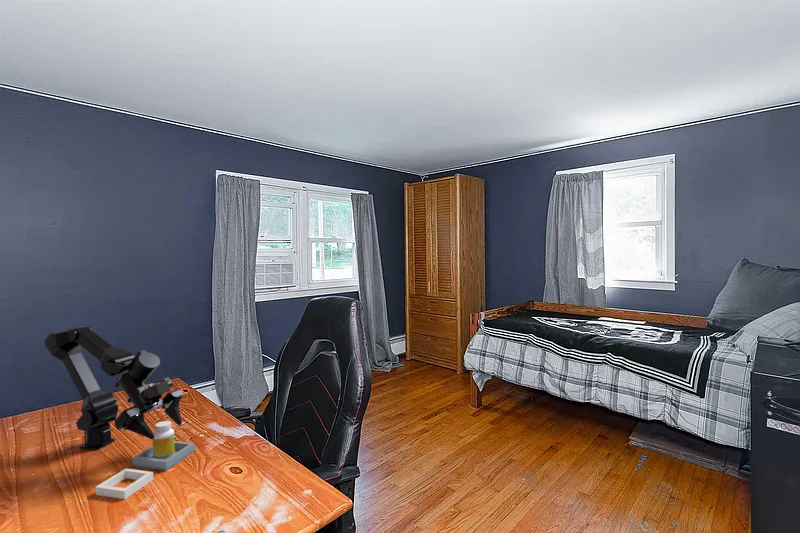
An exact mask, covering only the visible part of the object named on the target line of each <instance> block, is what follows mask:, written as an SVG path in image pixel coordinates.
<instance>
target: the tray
mask: <svg viewBox="0 0 800 533" xmlns="http://www.w3.org/2000/svg"><path fill="white" fill-rule="evenodd" d="M195 447H196V446H195V443H194V442H188V441H178V440H175V454H174V455H172V456H171V457H169V458H168V459H166V460H163V459H155V458H153V445H151V446H149V447H148V448H147V449H145V450H142V451H141V452H139V453H138V454H136V455H134V456H133V457H131V458H132V459H131V460H132V464H131V465H132V467H134V468H141V469H148V470H154V471H155V470H156V471H163V472H167V471H168V470H170V469H171V468H173V467H174V466H176V465H177V464H178V463H180V462H181V461H183V460H184V459H185V458H187V457H189V456H191V454H193V453H194V452H195V450H196V448H195Z"/></svg>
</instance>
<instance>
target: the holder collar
mask: <svg viewBox="0 0 800 533" xmlns="http://www.w3.org/2000/svg"><path fill="white" fill-rule="evenodd" d="M126 479H131V480H135V481H134V482H132V483H130V484H129V485H127V486H126V487H117V486H116V485H118V484H119V483H121V482H122V481H124V480H126ZM153 480H154V472H153V471H147V470H139V469H133V468H123V470H121V471H119V472H118V473H116V474H115V475H113V476H111V477H110V478H108V479H106V480H104V481H103V482H101V483H100V484H98V485H96V486H95V495H96V496H100V497H101V496H102V497H108V498H114V499H115V498H116V499H121V500H126V499H127V498H129V497H131V496H132V495H133V494H135V493H136V492H138V491H139V490H140V489H142V488H143V487H145V486H146V485H148V484H149V483H150V482H152V481H153Z"/></svg>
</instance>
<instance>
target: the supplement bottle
mask: <svg viewBox="0 0 800 533" xmlns="http://www.w3.org/2000/svg"><path fill="white" fill-rule="evenodd" d="M154 426H155V428H154V430H155V431H154V432H153V434H154V436H155V437H154V438H153V439H152V446H153V458H155V459H163V460H166V459H168V458H169V457H171V456H172V455H174V454H175V441H176V440H175V429H174V428H172V422H171V421H170V420H164V421H159V422H157V423H155V425H154Z"/></svg>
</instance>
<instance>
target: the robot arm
mask: <svg viewBox="0 0 800 533" xmlns="http://www.w3.org/2000/svg"><path fill="white" fill-rule="evenodd" d="M44 346H45V348H46V349H47V350H48V351H49V352H50V353H49V354H51V356H53V357H54V358H56V359H58V360H61V361H62V362H63V364H64V365H63V366H65V368H66V370H67V372H68V374H69V376H70V377H71V380H72V381H73V384H74V385H75V387H76V389H77V391H78V393H79V395H80V397H81V399H82V404H81V408H80V412H81V413H82V414H81V415H80V417H79V418H78V419H77V420H76V423H75V424H76V428H77V430H79V431H84V443H83V444H82V445H79V448H80V449H87V450H92V451H93V450H95V451H97V450H99V449H102V448H103V447H104V446H107V445H109V444H111V443H112V442H115V441H116V438H112V429H111V422H114V427H115V428H116V429H117V431H120V430H123V431H129V432H130V431H131V432H133V433H136V434H138V435H141V436H143V437H146V438H148V439H150V440H153V438H154V437H155V436H154V432H153V430H152V428H150V426H149V425H148V424H147V422H146V420H145V415H146V414H147V413H150V412H152V411H154V410H157V409H159V408H161V409H164V411H163V412H164V414H166V415H167V416H168V417H169V418H170V419H171V420H172V421H173V422H174V423H175V424H176V425H178V426H181V425H182V423H183V421H182V418H181V412H180V405H179V404H180V401H182V399H183V397H184V396H185V394H184V392H183V391H182V390H181V389H178V388H176V389H174V390H172V391H171V388H173V387H174V383H173V381H172V380H171V378H170V377H169V376H168V377H164V378H163V379H161V380H160V382H159V383H155V384H154V383H152V382H151V383H148V382H147V379H148V378H149V377H150V376H151V375H153V373H154V372H155V371H156V369H157V368H158V367H159V366H160V364H161V359H160V357H159V355H156V354H154V353H152V352H148V351H147V350H146V349H142V350H139V351H138V352H137V353H136V355H134V354H133V353H132V352H130V351H128V350H125V349H122V348H116V347H114V346H113V345H112V344H110V343H109V342H107V340H105V339H103V338H102V337H101V336H99V335H98V334H97V333H95V332H94V331H93V329H92V327H90V326H86V325H85V326H79V327H73V328H72V329H69V330H66V331H59V332H54V333H50V334H48V335H47V337H45V340H44ZM82 348H83V349H84V350H85V351H87V352H88V353H90V354H91V355H92V356H93V357H95V358H96V359H97V360H98V361H99V363H100V365H99V367H100V369H101V370H102V371H104V373H105V374H106V375H107V376H109V377H114V376H117V375H118V376H119V375H120V377H117V378H116V380H115V381H116V382H115V383H114V388H115V389H117V388H122V389H123V391H124V392H125V394H126V395H127V397H128V398H127V399H126V401H127V402H128V404H130V403H132V404H133V406H131V407H129V408H126V409H124V410H122V411H121V412H120V414H119V415H118V411H119V404H118V401H117V400H116V398H115V397H114V394H113V392H111V391H103V390H102V389H101V387H100V385H99V383H98V381H97V380H96V378H95V376H94V374H93V372H92V371H91V369H90V367H89V364H88V363H87V361H86V359H85V357H84V356H83V353H82ZM164 394H165V395H164ZM163 396H164V397H163ZM162 397H163V398H162ZM161 398H162V399H161Z"/></svg>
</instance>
